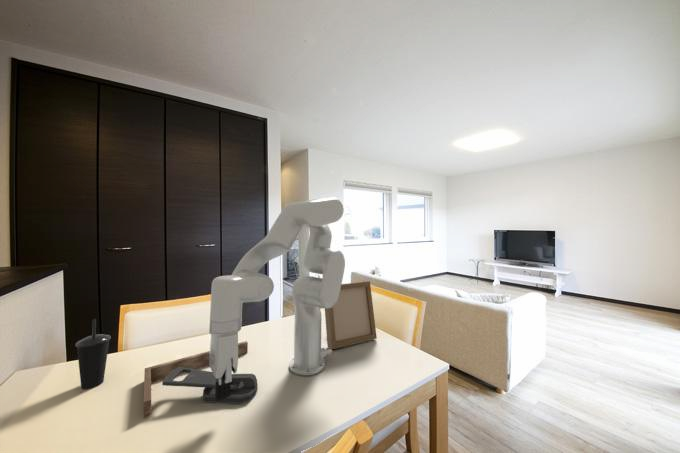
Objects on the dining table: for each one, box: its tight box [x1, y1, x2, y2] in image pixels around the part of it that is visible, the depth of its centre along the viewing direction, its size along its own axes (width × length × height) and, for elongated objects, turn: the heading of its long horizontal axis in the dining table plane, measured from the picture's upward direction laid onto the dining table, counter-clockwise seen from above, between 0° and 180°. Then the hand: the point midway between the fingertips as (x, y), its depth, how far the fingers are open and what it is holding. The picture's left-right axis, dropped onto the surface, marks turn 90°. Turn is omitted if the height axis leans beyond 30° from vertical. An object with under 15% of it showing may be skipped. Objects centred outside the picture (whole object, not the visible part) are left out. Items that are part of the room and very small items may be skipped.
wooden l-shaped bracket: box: [143, 341, 249, 419], centre depth 79 cm, size 32×19×4 cm, turn 128°
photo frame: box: [324, 280, 378, 350], centre depth 109 cm, size 15×22×25 cm
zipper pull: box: [161, 367, 258, 405], centre depth 71 cm, size 9×7×25 cm
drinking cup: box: [75, 318, 112, 390], centre depth 75 cm, size 8×8×20 cm
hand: (222, 397), depth 62 cm, fingers closed
